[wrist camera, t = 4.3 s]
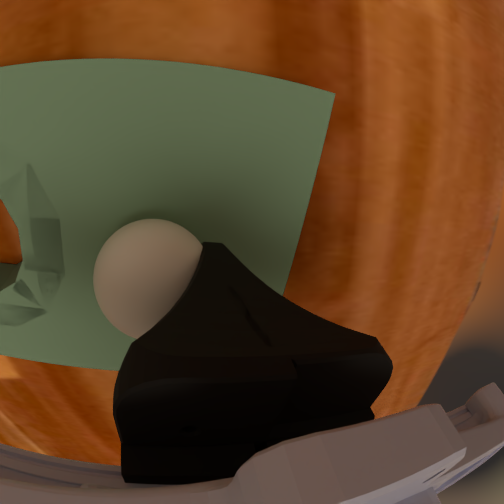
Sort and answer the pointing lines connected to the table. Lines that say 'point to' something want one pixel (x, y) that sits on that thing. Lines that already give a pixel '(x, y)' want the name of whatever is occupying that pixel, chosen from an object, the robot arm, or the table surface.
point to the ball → (144, 273)
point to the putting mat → (142, 182)
